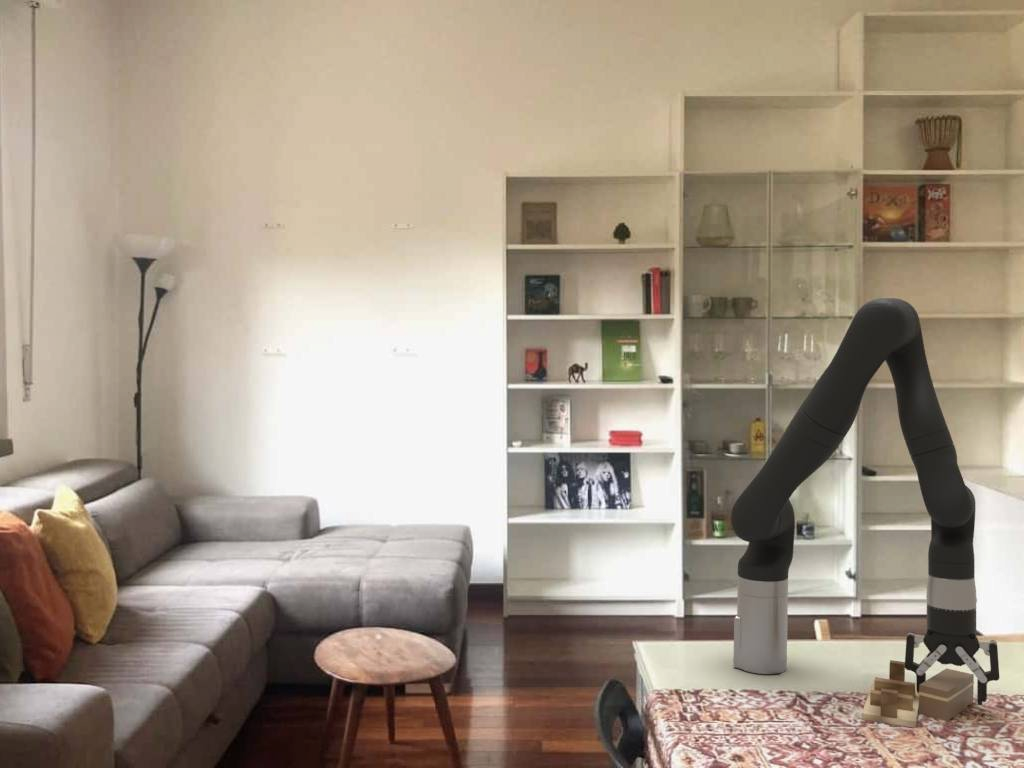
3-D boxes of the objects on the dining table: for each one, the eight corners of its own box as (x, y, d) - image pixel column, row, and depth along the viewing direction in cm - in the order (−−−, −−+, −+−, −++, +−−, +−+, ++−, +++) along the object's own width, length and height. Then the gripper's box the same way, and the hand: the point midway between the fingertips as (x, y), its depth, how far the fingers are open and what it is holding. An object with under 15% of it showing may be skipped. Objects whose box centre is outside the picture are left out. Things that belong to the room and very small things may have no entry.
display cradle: (861, 719, 156) (862, 688, 156) (872, 685, 173) (873, 657, 172) (915, 727, 153) (916, 696, 153) (921, 692, 169) (922, 664, 169)
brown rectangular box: (918, 715, 159) (918, 684, 159) (945, 696, 168) (946, 668, 168) (947, 722, 156) (947, 691, 156) (973, 703, 165) (974, 674, 165)
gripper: (903, 603, 161) (903, 701, 161) (999, 612, 155) (999, 713, 155) (906, 594, 168) (906, 687, 168) (998, 602, 161) (998, 699, 162)
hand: (951, 700), depth 161 cm, fingers open, 8 cm apart
